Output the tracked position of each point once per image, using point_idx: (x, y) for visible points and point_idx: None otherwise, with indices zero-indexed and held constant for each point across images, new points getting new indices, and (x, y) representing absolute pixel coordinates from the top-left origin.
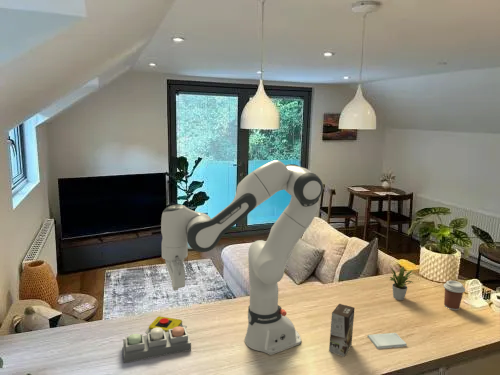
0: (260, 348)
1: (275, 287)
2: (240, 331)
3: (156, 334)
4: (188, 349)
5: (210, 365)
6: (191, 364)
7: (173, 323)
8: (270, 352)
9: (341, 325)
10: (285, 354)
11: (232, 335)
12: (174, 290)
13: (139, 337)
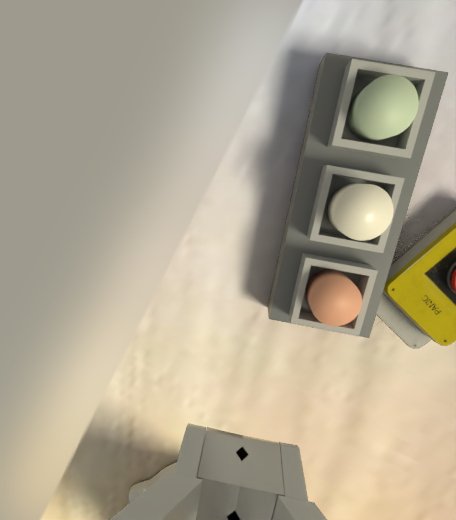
0: (155, 481)
1: None
2: None
3: (337, 203)
4: (269, 300)
5: (163, 328)
6: (194, 280)
7: (440, 308)
8: (130, 492)
9: None
10: None
11: None
12: (186, 430)
13: (371, 128)
